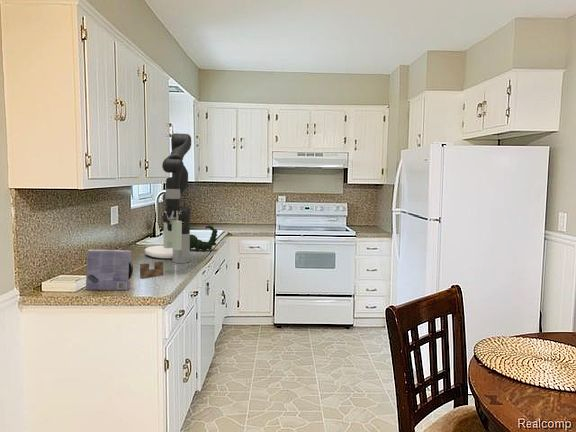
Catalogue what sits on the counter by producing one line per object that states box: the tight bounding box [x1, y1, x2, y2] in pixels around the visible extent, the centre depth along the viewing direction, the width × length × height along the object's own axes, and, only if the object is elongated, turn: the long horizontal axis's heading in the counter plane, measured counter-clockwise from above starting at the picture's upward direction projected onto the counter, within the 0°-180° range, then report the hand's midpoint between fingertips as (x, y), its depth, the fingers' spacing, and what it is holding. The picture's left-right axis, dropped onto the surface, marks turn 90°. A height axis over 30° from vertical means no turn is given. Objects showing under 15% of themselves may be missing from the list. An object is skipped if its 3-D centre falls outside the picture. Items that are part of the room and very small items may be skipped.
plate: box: [144, 245, 173, 259], centre depth 290 cm, size 28×6×27 cm
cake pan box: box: [85, 249, 134, 291], centre depth 203 cm, size 19×5×18 cm, turn 99°
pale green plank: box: [163, 220, 183, 250], centre depth 239 cm, size 11×3×15 cm, turn 51°
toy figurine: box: [190, 225, 218, 252], centre depth 313 cm, size 9×19×25 cm
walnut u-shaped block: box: [139, 260, 164, 279], centre depth 231 cm, size 12×2×7 cm, turn 141°
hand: (172, 230), depth 239 cm, fingers closed on pale green plank, 3 cm apart
